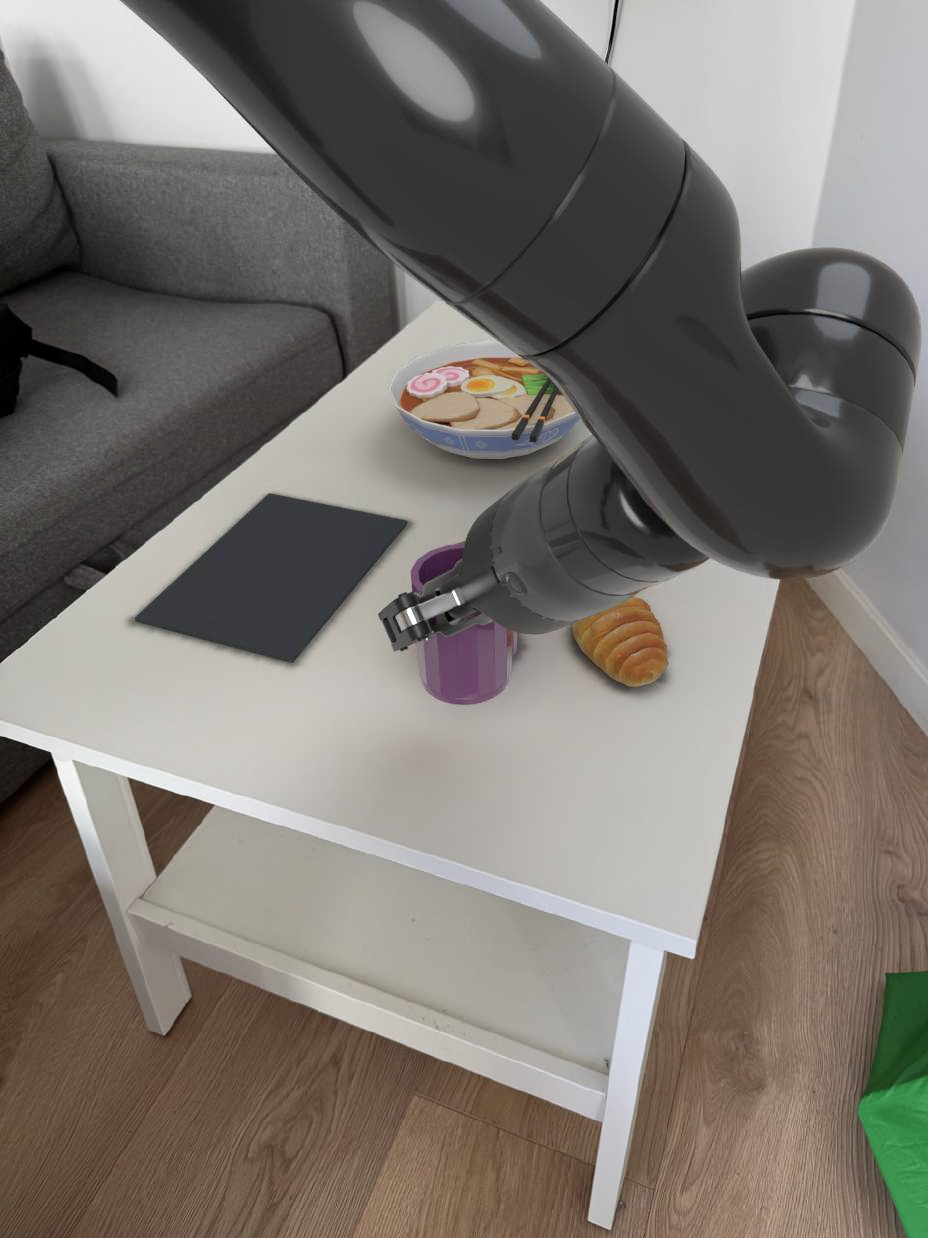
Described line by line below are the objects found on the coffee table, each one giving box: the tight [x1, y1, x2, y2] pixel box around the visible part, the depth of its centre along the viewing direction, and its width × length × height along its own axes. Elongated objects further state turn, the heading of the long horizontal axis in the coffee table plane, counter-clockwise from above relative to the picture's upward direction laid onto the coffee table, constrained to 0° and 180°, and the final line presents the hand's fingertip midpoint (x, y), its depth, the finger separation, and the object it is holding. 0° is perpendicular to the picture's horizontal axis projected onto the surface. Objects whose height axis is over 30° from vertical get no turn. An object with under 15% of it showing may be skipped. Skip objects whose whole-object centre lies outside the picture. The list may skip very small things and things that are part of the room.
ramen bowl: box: [387, 340, 581, 460], centre depth 100 cm, size 25×23×8 cm
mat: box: [134, 492, 408, 663], centre depth 85 cm, size 22×16×1 cm
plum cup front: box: [410, 543, 513, 706], centre depth 59 cm, size 6×6×8 cm
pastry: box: [571, 596, 669, 688], centre depth 73 cm, size 9×7×4 cm
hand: (449, 610), depth 60 cm, fingers closed on plum cup front, 6 cm apart
